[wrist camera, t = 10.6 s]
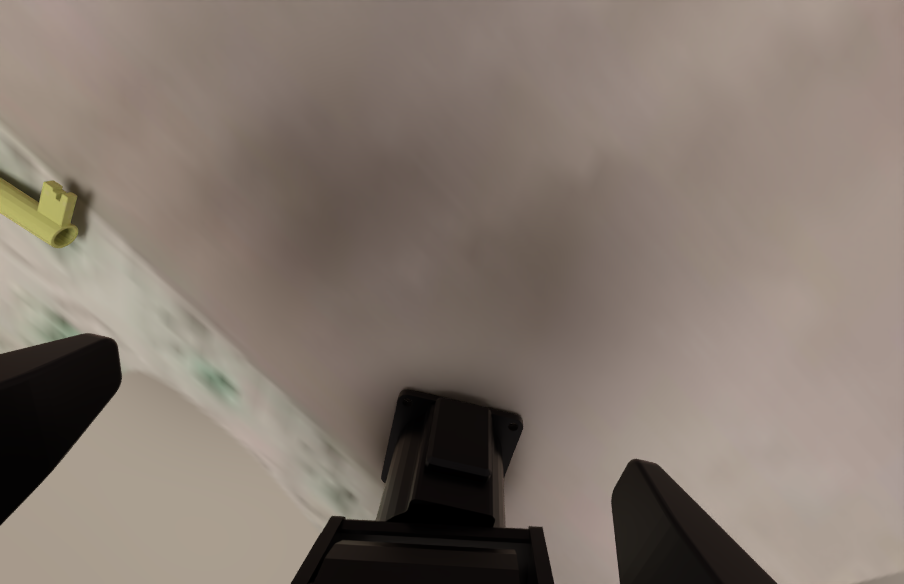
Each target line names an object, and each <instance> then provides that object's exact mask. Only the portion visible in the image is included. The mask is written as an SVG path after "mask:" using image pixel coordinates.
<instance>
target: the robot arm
mask: <svg viewBox="0 0 904 584" xmlns="http://www.w3.org/2000/svg"><path fill="white" fill-rule="evenodd" d="M121 380H122V373H121V366H120V358H119V351H118V345H117V343H116V342H115V340H113V339H112V338H109V337H105V336H100V335H96V334H90V333H85V334H80V335H76V336H72V337H68V338H64V339H60V340H56V341H52V342H48V343H44V344H40V345H35V346H31V347H27V348H23V349H19V350H15V351H11V352H7V353H3V354H0V525H1V524H2V523H3V522H4V521H5V520H6V519H7V518H8V517H9V516H10V515H11V514H12V513H13V512H14V511H15V510H16V509H17V508H18V507H19V506H20V505H21V504H22V503H23V502H24V501H25V500H26V498H27V497H28V496H29V495H30V494H31V493H32V492H33V491H34V490H35V489H36V488H37V487H38V486H39V485H40V484H41V483H42V482H43V481H44V479H45V478H46V477H47V476H48V475H49V474H50V473H51V472H52V471H53V470H54V468H55V467H56V466H57V465H58V464H59V463H60V461H61V460H62V459H63V458H64V457H65V455H66V454H67V453H68V452H69V450H70V449H71V448H72V447H73V445H74V444H75V443H76V442H77V441H78V439H79V438H80V437H81V436H82V434H83V433H84V432H85V431H86V429H87V428H88V427H89V425H90V424H91V423H92V422H93V421H94V419H95V418H96V417H97V416H98V414H99V413H100V412H101V411H102V410H103V408H104V407H105V406H106V404H107V403H108V402H109V401H110V400H111V398H112V397H113V396H114V395H115V393H116V392H117V390H118V389H119V386H120V384H121ZM405 399H410V400H411V401H406V400H405ZM511 423H516V425H510V424H511ZM522 430H523V420H522V418H521V417H520V416H519V415H516V414H513V413H508V412H504V411H500V410H495V409H491V408H487V407H482V406H478V405H474V404H469V403H465V402H461V401H456V400H452V399H448V398H443V397H439V396H435V395H430V394H426V393H422V392H417V391H413V390H403V391H402V392H401V393H400V395H399V397H398V401H397V406H396V410H395V415H394V420H393V424H392V429H391V434H390V438H389V443H388V447H387V452H386V457H385V461H384V466H383V471H382V475H381V479H382V481H383V482H384V483H386V484H385V488H384V491H383V495H382V499H381V503H380V507H379V511H378V514H377V518H376V521H371V520H352V519H346V518H345V517H342V516H331V518H330V519H329V521H328V523H327V524H326V526H325V528H324V529H323V531H322V533H321V534H320V535H319V537H318V538H317V540H316V542H315V544H314V545H313V547H312V549H311V550H310V552H309V554H308V555H307V557H306V559H305V561H304V562H303V564H302V565H301V567H300V569H299V571H298V572H297V574H296V576H295V577H294V579H293V581H292V582H291V584H554V580H553V576H552V571H551V566H550V561H549V556H548V552H547V547H546V542H545V537H544V532H543V528H542V527H532V526H529V529H522V528H505V505H504V480H503V479H504V476H505V473H506V471H507V468H508V466H509V463H510V461H511V458H512V455H513V453H514V450H515V448H516V445H517V443H518V440H519V438H520V435H521V432H522ZM611 504H612V514H613V523H614V532H615V542H616V551H617V560H618V569H619V578H620V584H777V583H776V582H775V581H774V580H773V579H772V578H771V577H770V576H769V575H768V574H767V573H766V572H765V571H764V570H763V569H762V568H761V567H760V566H759V565H758V564H757V563H756V562H755V561H754V560H753V559H752V558H751V557H750V556H749V555H748V554H747V553H746V552H745V551H744V550H743V549H742V548H741V547H740V546H739V545H738V544H737V543H736V542H735V541H734V540H733V539H732V538H731V537H730V536H729V535H728V534H727V533H726V532H725V531H724V530H723V529H722V528H721V527H720V526H719V525H718V524H717V523H716V522H715V521H714V520H713V519H712V518H711V517H710V516H709V515H708V514H707V513H706V512H705V511H704V510H703V509H702V508H701V507H700V506H699V505H698V504H697V503H696V502H695V501H694V500H693V499H692V498H691V497H690V496H689V495H688V494H687V493H686V492H685V491H684V490H683V489H682V488H681V487H680V486H679V485H678V484H677V483H676V482H675V481H674V480H673V479H672V478H671V477H670V476H669V475H668V474H667V473H666V472H665V471H664V470H663V469H662V468H661V467H660V466H659V465H657V464H656V463H653V462H649V461H644V460H640V459H633V460H631V461H630V462H629V463H628V464H627V466H626V468H625V470H624V472H623V473H622V475H621V477H620V479H619V480H618V482H617V484H616V486H615V488H614V490H613V493H612V499H611Z"/></svg>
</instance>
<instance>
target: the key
mask: <svg viewBox="0 0 904 584" xmlns="http://www.w3.org/2000/svg"><path fill="white" fill-rule="evenodd" d="M62 188H63V186H61V185H60V184H58V183H57V182H55V181H47V182H44V183H43V188H42V192H41V197H40V201H39V202H37V201H36V200H34V199H33V198H31V197H30V196H28V195H26V194H25V193H23V192H22V191H20V190H19V189H17V188H16V187H14V186H13V185H11V184H9V183H8V182H6V181H5V180H3V179H2V178H0V213H1V214H2V215H4V216H6V217H7V218H9V219H10V220H12V221H13V222H15V223H16V224H18V225H20V226H21V227H23V228H24V229H26V230H27V231H29V232H31V233H32V234H34V235H35V236H37V237H38V238H40V239H41V240H43V241H45V242H46V243H48V244H49V245H51V246H52V247H55V248H63V247H65V246H67V245H69V244H70V243H72V242H73V241H74V240H75V238H76V237H77V235H78V229H77V227H76V226H74V225H73V224H71V219H72V215H73V211H74V207H75V203H76V200H77V196H76V195H75V194H73V193H72V192H70V193H66V192H65V191H63V190H62Z"/></svg>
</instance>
